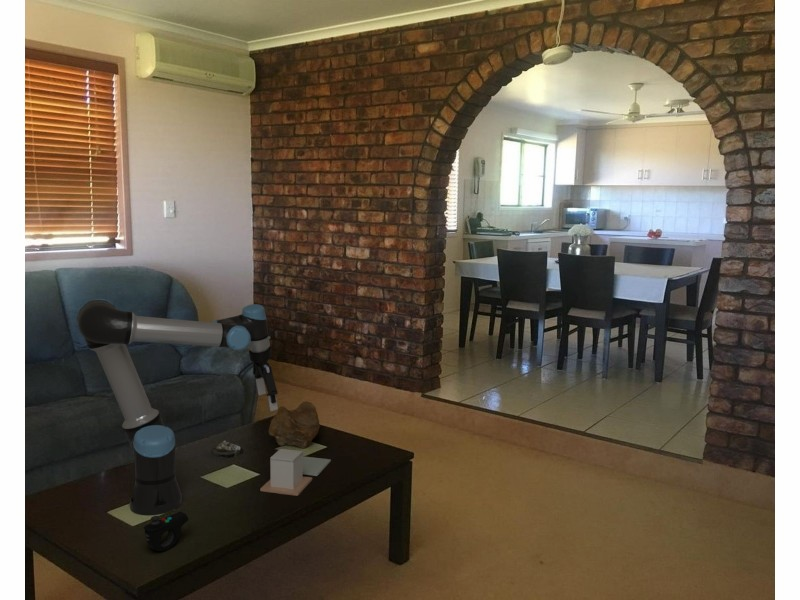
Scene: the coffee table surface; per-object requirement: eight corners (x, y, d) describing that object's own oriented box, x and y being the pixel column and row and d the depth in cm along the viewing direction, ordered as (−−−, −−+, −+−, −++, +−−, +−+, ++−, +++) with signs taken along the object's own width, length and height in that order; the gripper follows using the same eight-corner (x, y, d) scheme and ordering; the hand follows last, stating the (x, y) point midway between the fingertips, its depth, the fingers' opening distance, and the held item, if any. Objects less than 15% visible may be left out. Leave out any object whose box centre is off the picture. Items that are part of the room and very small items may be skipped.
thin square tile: (297, 495, 209) (297, 493, 209) (260, 491, 212) (260, 488, 212) (312, 479, 222) (312, 477, 222) (276, 475, 225) (276, 473, 225)
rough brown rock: (294, 458, 242) (297, 420, 240) (261, 445, 251) (265, 408, 249) (333, 443, 262) (336, 407, 259) (302, 431, 270) (305, 396, 268)
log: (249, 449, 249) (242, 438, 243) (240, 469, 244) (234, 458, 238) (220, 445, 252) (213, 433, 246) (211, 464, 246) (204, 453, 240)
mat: (317, 475, 225) (317, 474, 225) (279, 471, 228) (279, 469, 228) (330, 461, 239) (330, 459, 238) (295, 456, 242) (295, 455, 242)
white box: (293, 489, 212) (293, 460, 211) (270, 486, 214) (270, 457, 213) (302, 479, 220) (302, 451, 218) (280, 476, 222) (280, 448, 220)
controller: (142, 554, 172) (140, 519, 171) (181, 536, 182) (180, 502, 181) (152, 559, 170) (150, 523, 168) (191, 540, 180) (190, 506, 179)
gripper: (281, 358, 217) (289, 413, 224) (259, 333, 238) (267, 385, 245) (260, 364, 214) (268, 420, 221) (238, 338, 234) (247, 390, 242)
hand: (267, 401), depth 233 cm, fingers open, 13 cm apart
